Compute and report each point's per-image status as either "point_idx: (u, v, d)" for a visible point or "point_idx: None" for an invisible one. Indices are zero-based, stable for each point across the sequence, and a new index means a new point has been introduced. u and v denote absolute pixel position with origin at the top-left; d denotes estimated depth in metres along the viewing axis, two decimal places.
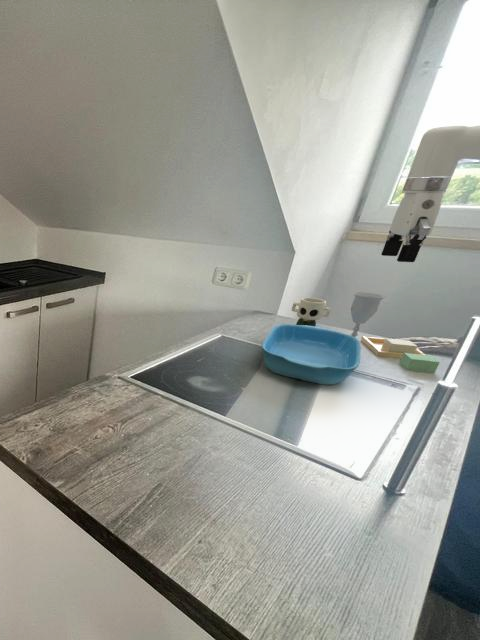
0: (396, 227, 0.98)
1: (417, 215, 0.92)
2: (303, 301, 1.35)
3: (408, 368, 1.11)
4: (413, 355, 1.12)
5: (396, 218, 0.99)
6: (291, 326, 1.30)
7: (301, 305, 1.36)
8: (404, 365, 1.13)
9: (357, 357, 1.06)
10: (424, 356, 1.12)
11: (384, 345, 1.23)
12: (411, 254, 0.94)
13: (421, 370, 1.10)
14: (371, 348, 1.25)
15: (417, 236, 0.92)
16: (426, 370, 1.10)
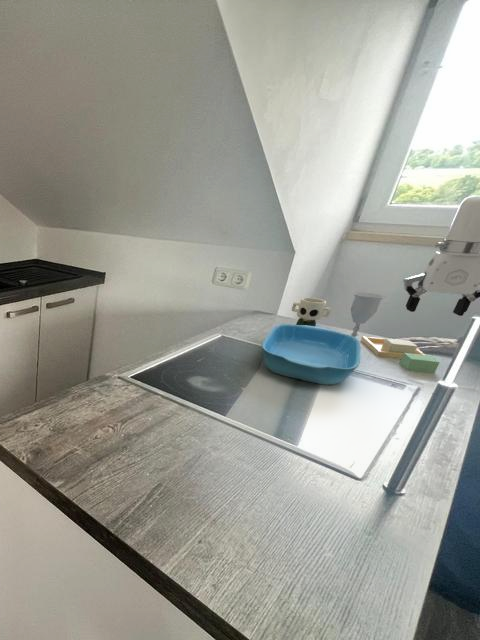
0: None
1: (424, 270, 1.04)
2: (303, 301, 1.35)
3: (408, 368, 1.11)
4: (413, 355, 1.12)
5: None
6: (291, 326, 1.30)
7: (301, 305, 1.36)
8: (404, 365, 1.13)
9: (357, 357, 1.06)
10: (424, 356, 1.12)
11: (384, 345, 1.23)
12: (408, 303, 1.07)
13: (421, 370, 1.10)
14: (371, 348, 1.25)
15: None
16: (426, 370, 1.10)
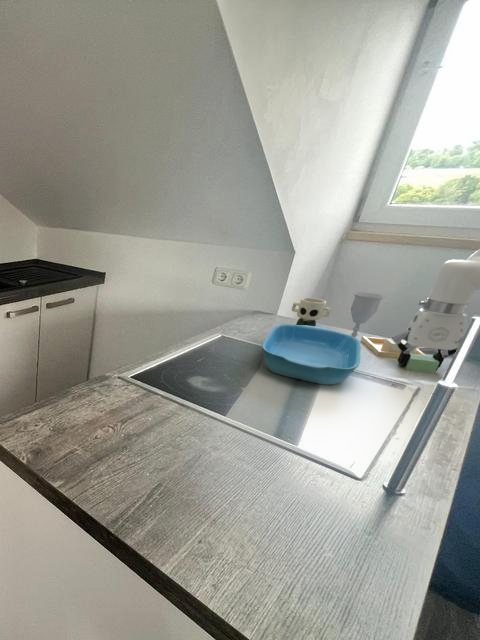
0: None
1: (409, 325, 1.11)
2: (303, 301, 1.35)
3: (408, 368, 1.11)
4: (413, 355, 1.12)
5: None
6: (291, 326, 1.30)
7: (301, 305, 1.36)
8: None
9: (357, 357, 1.06)
10: (424, 356, 1.12)
11: (384, 345, 1.23)
12: (400, 358, 1.13)
13: (421, 370, 1.10)
14: (371, 348, 1.25)
15: None
16: (426, 370, 1.10)
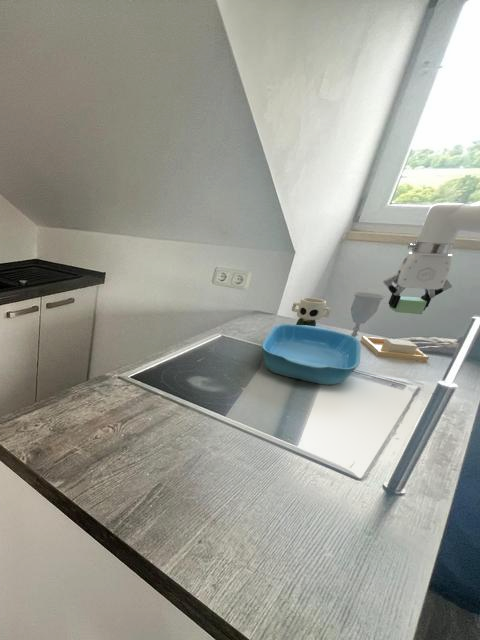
0: None
1: (399, 268, 1.19)
2: (303, 301, 1.35)
3: (398, 309, 1.19)
4: (403, 297, 1.20)
5: None
6: (291, 326, 1.30)
7: (301, 305, 1.36)
8: None
9: (357, 357, 1.06)
10: (413, 298, 1.20)
11: (384, 345, 1.23)
12: (390, 301, 1.21)
13: (410, 310, 1.18)
14: (371, 348, 1.25)
15: None
16: (415, 310, 1.18)
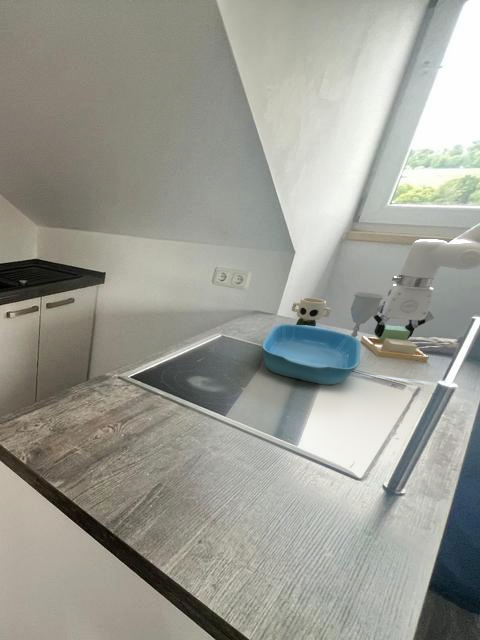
0: None
1: (384, 299, 1.24)
2: (303, 301, 1.35)
3: (383, 337, 1.25)
4: (388, 326, 1.26)
5: None
6: (291, 326, 1.30)
7: (301, 305, 1.36)
8: None
9: (357, 357, 1.06)
10: (397, 327, 1.25)
11: (384, 345, 1.23)
12: (376, 329, 1.27)
13: None
14: (371, 348, 1.25)
15: None
16: (399, 339, 1.23)
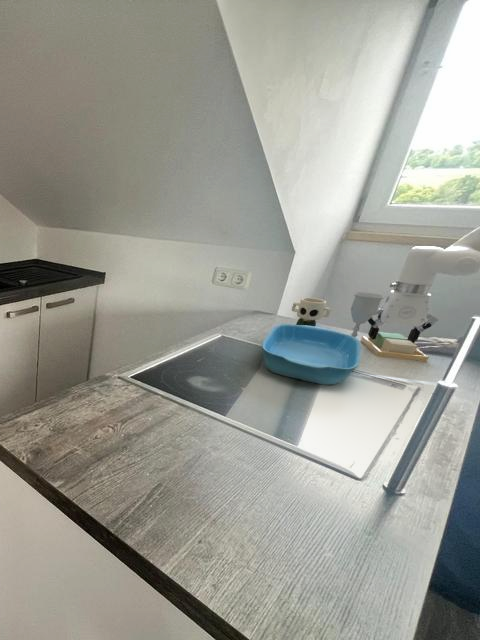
0: None
1: (382, 305, 1.25)
2: (303, 301, 1.35)
3: (380, 345, 1.26)
4: (385, 333, 1.27)
5: None
6: (291, 326, 1.30)
7: (301, 305, 1.36)
8: (377, 342, 1.27)
9: (357, 357, 1.06)
10: (394, 334, 1.26)
11: (384, 345, 1.23)
12: (370, 332, 1.27)
13: None
14: (371, 348, 1.25)
15: None
16: None
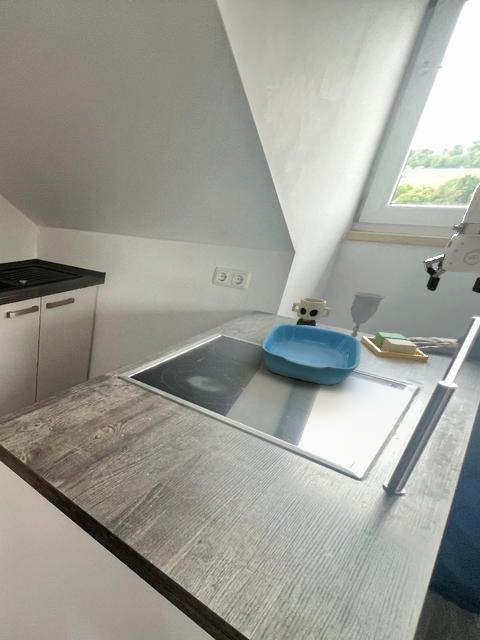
0: None
1: (443, 252, 1.12)
2: (303, 301, 1.35)
3: (380, 345, 1.26)
4: (385, 333, 1.27)
5: None
6: (291, 326, 1.30)
7: (301, 305, 1.36)
8: (377, 342, 1.27)
9: (357, 357, 1.06)
10: (394, 334, 1.26)
11: (384, 345, 1.23)
12: (429, 283, 1.15)
13: None
14: (371, 348, 1.25)
15: None
16: None
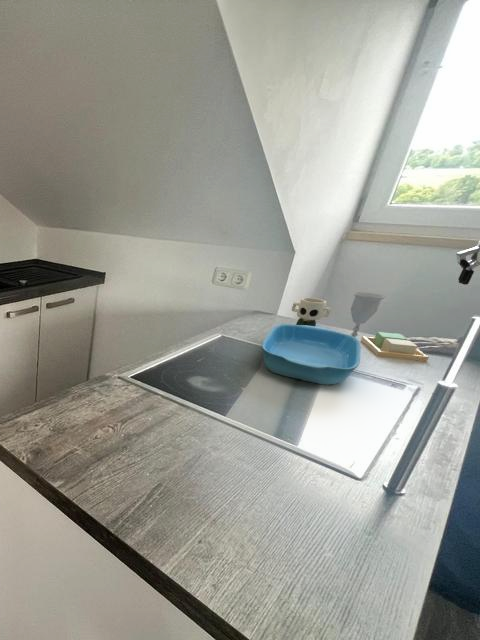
0: None
1: (478, 244, 1.07)
2: (303, 301, 1.35)
3: (380, 345, 1.26)
4: (385, 333, 1.27)
5: None
6: (291, 326, 1.30)
7: (301, 305, 1.36)
8: (377, 342, 1.27)
9: (357, 357, 1.06)
10: (394, 334, 1.26)
11: (384, 345, 1.23)
12: (461, 276, 1.10)
13: None
14: (371, 348, 1.25)
15: None
16: None
